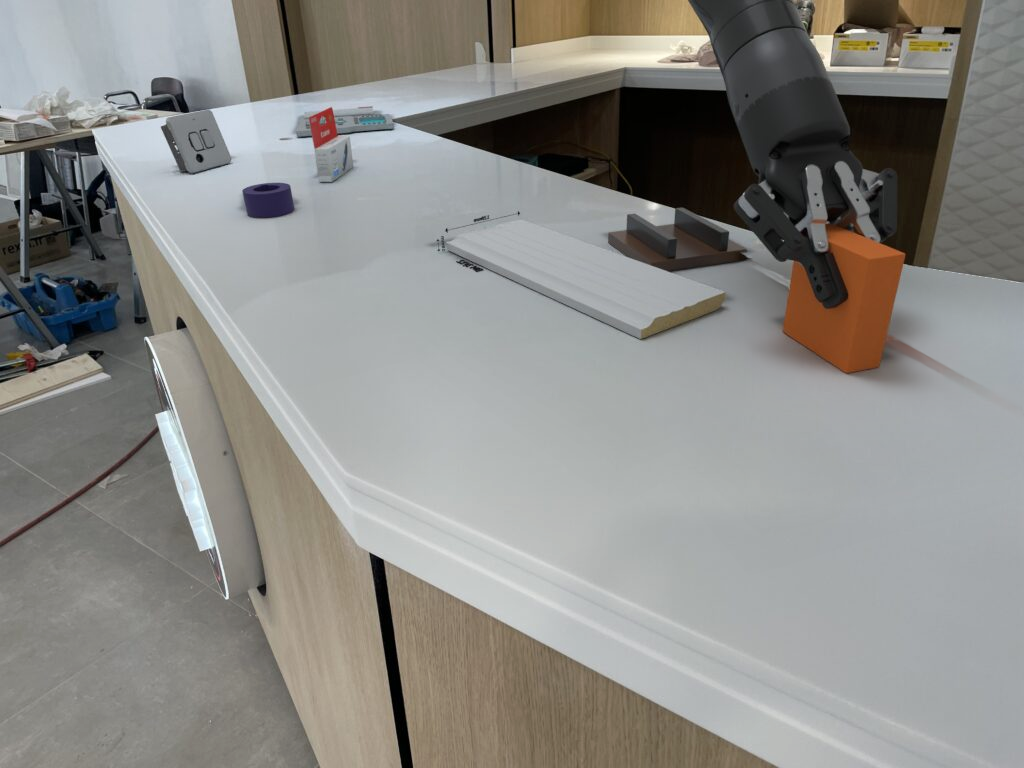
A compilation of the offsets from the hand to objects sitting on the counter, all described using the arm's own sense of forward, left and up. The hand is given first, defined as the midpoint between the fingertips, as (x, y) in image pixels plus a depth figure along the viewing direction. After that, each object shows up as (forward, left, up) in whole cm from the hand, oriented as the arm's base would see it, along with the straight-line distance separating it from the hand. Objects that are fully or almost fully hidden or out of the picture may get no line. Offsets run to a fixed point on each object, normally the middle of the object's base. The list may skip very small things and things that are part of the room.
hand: (858, 299), depth 54 cm
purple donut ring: (+43, -67, -5) cm, 80 cm away
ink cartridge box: (+32, -83, -5) cm, 89 cm away
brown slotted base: (0, -28, -5) cm, 28 cm away
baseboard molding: (+14, -25, -5) cm, 29 cm away
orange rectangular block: (0, -2, -5) cm, 5 cm away
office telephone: (+26, -131, -5) cm, 134 cm away
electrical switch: (+54, -99, -5) cm, 113 cm away
